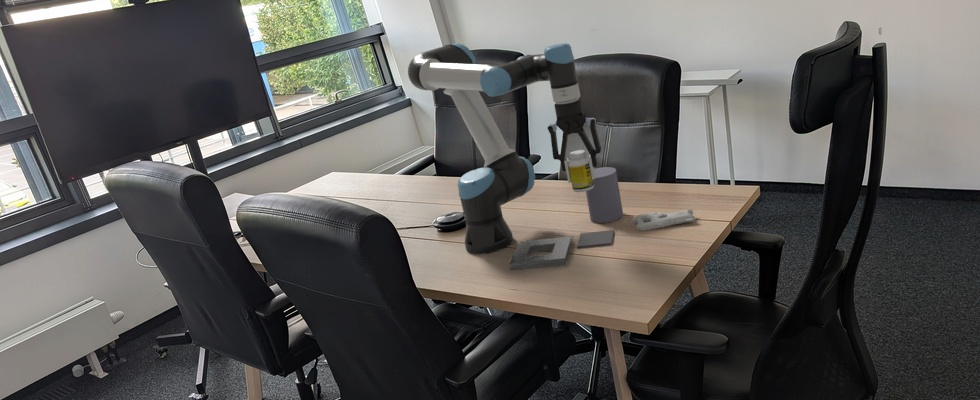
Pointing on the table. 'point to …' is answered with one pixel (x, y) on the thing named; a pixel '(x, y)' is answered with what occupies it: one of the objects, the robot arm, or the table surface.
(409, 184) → the table surface
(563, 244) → the housing plate
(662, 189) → the table surface
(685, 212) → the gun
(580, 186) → the pill bottle
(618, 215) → the container
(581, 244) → the rubber mat
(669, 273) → the table surface
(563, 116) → the robot arm
